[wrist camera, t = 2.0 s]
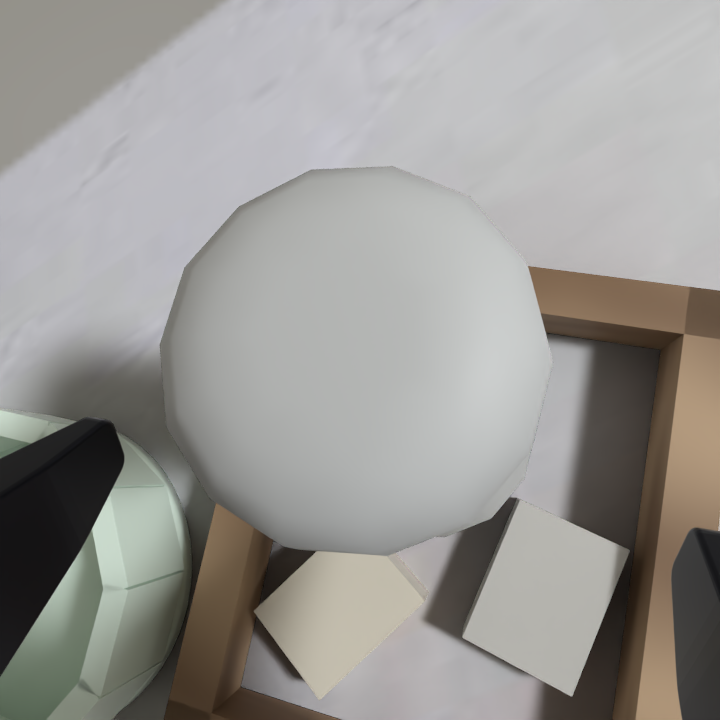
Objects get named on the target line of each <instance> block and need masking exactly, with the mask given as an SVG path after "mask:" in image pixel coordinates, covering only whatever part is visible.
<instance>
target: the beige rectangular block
mask: <svg viewBox="0 0 720 720" xmlns="http://www.w3.org/2000/svg"><path fill="white" fill-rule="evenodd" d="M428 594H429V591H428V590H427V589H426V588H425V587H424V585H423V584H422V583H421V582H420V581H419V580H418V579H417V577H416V576H415V575H414V574H413V573H412V572H411V570H410V569H409V568H408V567H407V566H406V565H405V563H404V562H403V561H402V560H401V559H400V558H399V556H398V555H397V554H396V553H394V554H391V555H389V556H380V555H366V554H352V553H338V552H324V551H316V552H315V553H314V554H313V555H312V556H311V557H310V558H309V559H308V560H307V561H306V562H305V563H304V564H303V565H302V566H301V567H299V568H298V569H297V570H296V571H295V572H294V573H293V574H292V575H291V576H290V577H289V578H288V579H287V580H286V581H285V582H284V583H283V584H282V585H280V586H279V587H278V588H277V589H276V590H275V591H274V592H273V593H272V594H271V595H270V596H269V597H268V598H267V599H266V600H265V601H264V602H263V603H261V604H260V605H259V606H258V607H257V608H256V609H255V610H254V613H255V614H256V615H257V617H258V618H259V620H260V621H261V622H262V624H263V625H264V626H265V628H266V629H267V630H268V632H269V633H270V634H271V636H272V637H273V638H274V640H275V641H276V642H277V644H278V645H279V647H280V648H281V649H282V651H283V652H284V653H285V655H286V656H287V657H288V659H289V660H290V661H291V663H292V664H293V665H294V667H295V668H296V669H297V671H298V672H299V673H300V675H301V676H302V678H303V679H304V680H305V682H306V683H307V684H308V686H309V687H310V688H311V690H312V691H313V692H314V694H315V695H316V696H317V698H318V699H319V700H321V699H322V698H323V697H324V696H325V695H326V694H327V693H328V692H329V691H330V690H331V689H332V688H333V687H334V686H336V685H337V684H338V683H339V682H340V681H341V680H342V679H343V678H344V677H345V676H346V675H347V674H348V673H349V672H350V671H351V670H353V669H354V668H355V667H356V666H357V665H358V664H359V663H360V662H361V661H362V660H363V659H364V658H365V657H366V656H367V655H368V654H370V653H371V652H372V651H373V650H374V649H375V648H376V647H377V646H378V645H379V644H380V643H381V642H382V641H383V640H384V639H385V638H386V637H388V636H389V635H390V634H391V633H392V632H393V631H394V630H395V629H396V628H397V627H398V626H399V625H400V624H401V623H402V622H403V621H405V620H406V619H407V618H408V617H409V616H410V615H411V614H412V613H413V612H414V611H415V610H416V609H417V608H418V607H419V606H420V605H421V604H423V603H424V602H425V600H426V598H427V596H428Z"/></svg>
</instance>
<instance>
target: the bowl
mask: <svg viewBox="0 0 720 720" xmlns="http://www.w3.org/2000/svg"><path fill="white" fill-rule="evenodd" d="M75 422H77V421H74V420H69V419H65V418H61V417H56V416H52V415H47V414H40V413H33V412H26V411H19V410H12V409H5V408H0V458H2V457H4V456H6V455H8V454H11V453H13V452H15V451H17V450H19V449H21V448H23V447H25V446H27V445H29V444H31V443H33V442H35V441H38V440H40V439H42V438H44V437H46V436H48V435H50V434H52V433H54V432H56V431H58V430H60V429H62V428H64V427H66V426H69V425H71V424H73V423H75ZM116 432H117V431H116ZM117 434H118V437H119V440H120V443H121V446H122V449H123V451H124V456H125V460H124V465H123V468H122V471H121V473H120V475H119V477H118V479H117V481H116V483H115V485H114V487H113V489H112V491H111V492H110V494H109V496H108V498H107V500H106V502H105V504H104V506H103V508H102V510H101V512H100V514H99V516H98V518H97V520H96V522H95V524H94V526H93V528H92V530H91V532H90V534H89V536H88V538H87V540H86V541H85V543H84V545H83V547H82V549H81V550H80V552H79V554H78V555H77V557H76V559H75V560H74V562H73V563H72V565H71V567H70V568H69V570H68V571H67V573H66V574H65V576H64V578H63V579H62V581H61V582H60V584H59V585H58V587H57V589H56V590H55V592H54V593H53V595H52V596H51V598H50V600H49V601H48V603H47V604H46V606H45V608H44V609H43V611H42V612H41V614H40V615H39V617H38V619H37V620H36V622H35V623H34V625H33V626H32V628H31V630H30V631H29V633H28V634H27V636H26V637H25V639H24V641H23V642H22V644H21V645H20V647H19V649H18V650H17V652H16V653H15V655H14V656H13V658H12V660H11V661H10V663H9V664H8V666H7V667H6V669H5V671H4V672H3V674H2V675H1V677H0V720H112V719H113V718H114V717H115V716H116V715H117V713H118V712H119V711H121V710H122V709H123V708H124V707H126V706H127V705H128V704H130V703H131V702H132V701H133V700H134V699H135V698H136V697H137V696H138V695H139V694H140V693H141V692H142V691H143V690H144V689H145V688H146V687H147V686H148V685H149V684H150V682H151V681H152V680H153V679H154V677H155V676H156V675H157V673H158V672H159V671H160V669H161V668H162V666H163V664H164V663H165V661H166V659H167V658H168V656H169V654H170V652H171V651H172V648H173V646H174V644H175V642H176V639H177V637H178V635H179V632H180V630H181V627H182V624H183V620H184V617H185V614H186V610H187V606H188V600H189V595H190V589H191V576H192V553H191V542H190V536H189V530H188V524H187V521H186V518H185V514H184V511H183V507H182V505H181V502H180V500H179V498H178V495H177V493H176V491H175V489H174V487H173V485H172V483H171V482H170V480H169V479H168V477H167V475H166V474H165V472H164V471H163V469H162V468H161V467H160V466H159V465H158V463H157V462H156V461H155V460H154V458H153V457H152V456H151V455H150V454H148V453H147V452H146V451H145V450H144V449H143V448H142V447H141V446H140V445H138V444H137V443H135V442H134V441H132V440H131V439H130V438H128V437H127V436H125V435H123V434H121V433H119V432H117Z"/></svg>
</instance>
